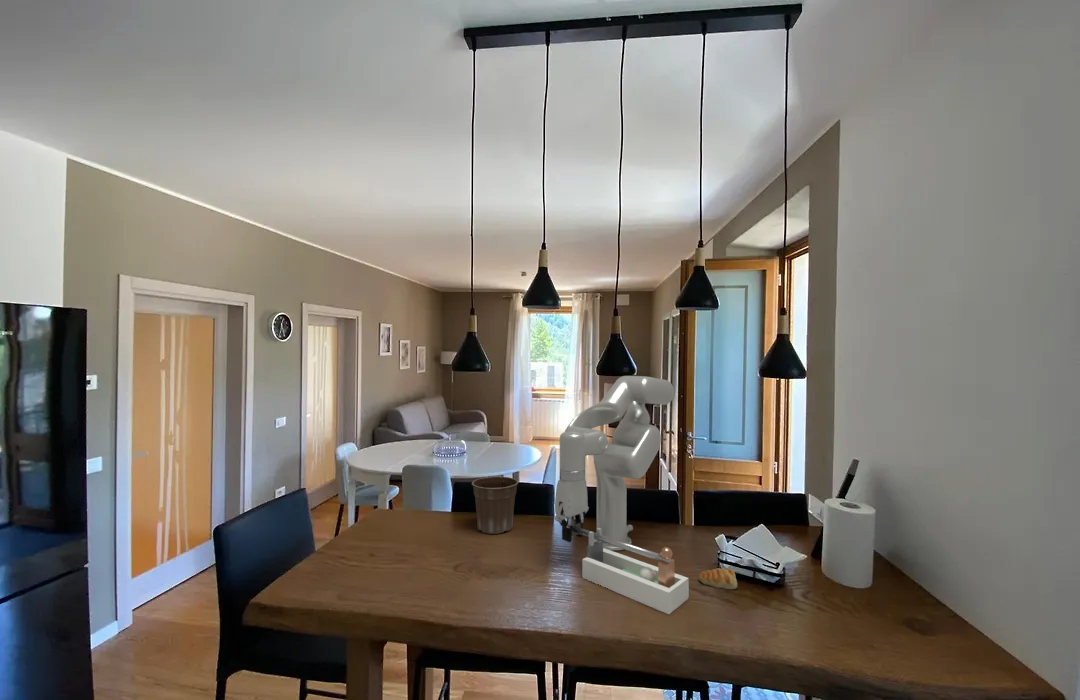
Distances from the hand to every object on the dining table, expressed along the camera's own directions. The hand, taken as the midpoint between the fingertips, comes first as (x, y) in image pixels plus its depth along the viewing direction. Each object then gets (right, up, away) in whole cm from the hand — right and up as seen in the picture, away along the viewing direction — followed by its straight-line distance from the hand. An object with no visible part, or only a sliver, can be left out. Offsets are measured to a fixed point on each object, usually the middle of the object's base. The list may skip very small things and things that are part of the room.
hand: (572, 537), depth 133 cm
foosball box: (+15, -7, -14) cm, 22 cm away
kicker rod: (+11, -4, -10) cm, 16 cm away
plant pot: (-25, -8, +27) cm, 38 cm away
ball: (+18, -4, -17) cm, 25 cm away
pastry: (+38, -8, -12) cm, 41 cm away
